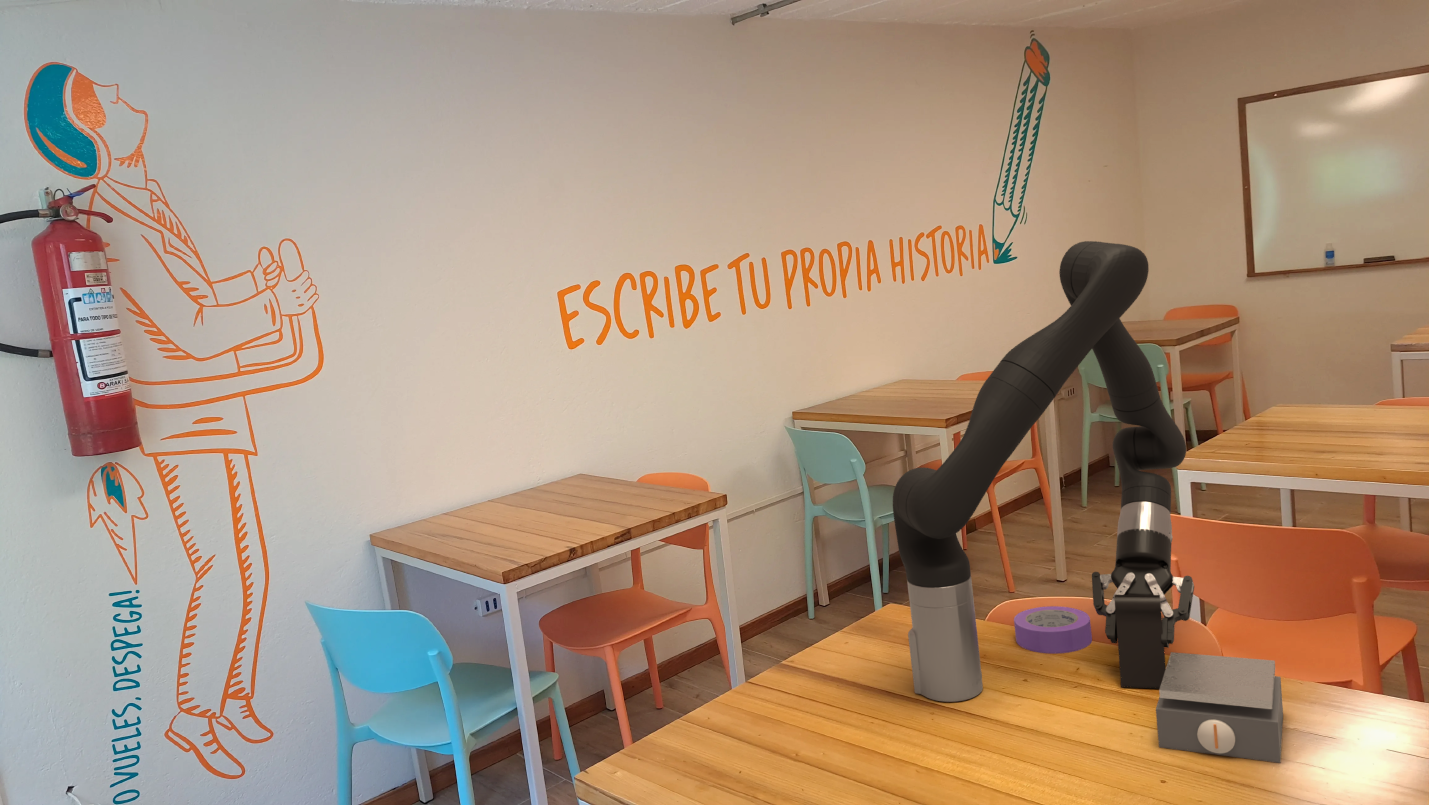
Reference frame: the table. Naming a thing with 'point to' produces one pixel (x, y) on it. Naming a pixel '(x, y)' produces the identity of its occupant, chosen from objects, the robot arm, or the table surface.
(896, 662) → the table surface
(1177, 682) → the pan
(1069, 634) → the masking tape
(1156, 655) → the phone stand
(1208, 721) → the base
